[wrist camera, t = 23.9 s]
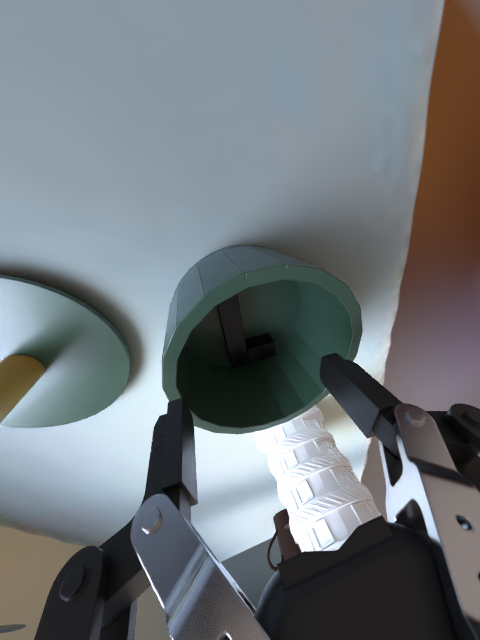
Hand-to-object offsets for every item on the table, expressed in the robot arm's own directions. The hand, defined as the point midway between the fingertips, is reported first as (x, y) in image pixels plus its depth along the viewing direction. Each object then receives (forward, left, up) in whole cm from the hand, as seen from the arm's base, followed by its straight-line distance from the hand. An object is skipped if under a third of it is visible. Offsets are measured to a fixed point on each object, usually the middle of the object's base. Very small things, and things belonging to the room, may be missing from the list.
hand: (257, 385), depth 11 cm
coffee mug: (+65, +5, -9) cm, 66 cm away
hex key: (+1, +2, -8) cm, 9 cm away
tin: (+1, +2, -9) cm, 9 cm away
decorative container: (+23, +7, -9) cm, 25 cm away
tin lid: (0, -16, -8) cm, 19 cm away
